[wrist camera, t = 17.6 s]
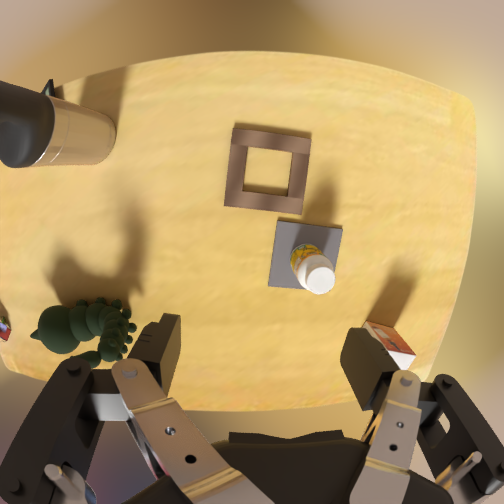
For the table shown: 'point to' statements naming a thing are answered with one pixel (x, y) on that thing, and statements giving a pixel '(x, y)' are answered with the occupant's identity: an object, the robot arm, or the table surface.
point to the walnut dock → (261, 200)
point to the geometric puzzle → (4, 331)
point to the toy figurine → (87, 329)
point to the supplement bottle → (312, 268)
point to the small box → (392, 343)
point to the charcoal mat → (293, 237)
